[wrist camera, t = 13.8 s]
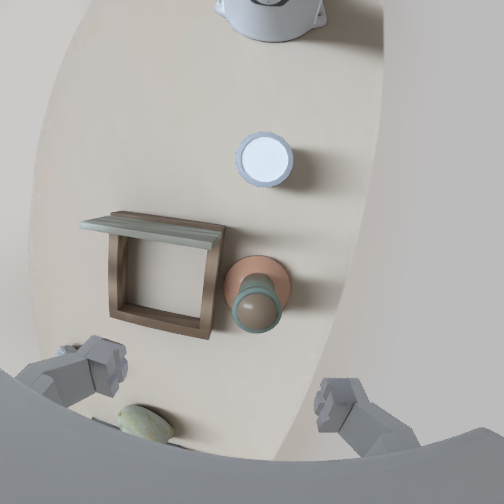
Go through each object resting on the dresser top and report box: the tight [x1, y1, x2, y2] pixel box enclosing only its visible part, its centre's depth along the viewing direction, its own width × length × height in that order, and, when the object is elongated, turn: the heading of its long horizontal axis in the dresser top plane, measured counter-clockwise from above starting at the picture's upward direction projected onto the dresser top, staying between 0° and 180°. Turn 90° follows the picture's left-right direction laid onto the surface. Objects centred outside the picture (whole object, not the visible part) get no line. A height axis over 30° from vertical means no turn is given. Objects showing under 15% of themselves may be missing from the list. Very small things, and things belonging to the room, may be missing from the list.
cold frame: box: [80, 211, 225, 340], centre depth 36 cm, size 17×17×12 cm
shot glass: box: [236, 132, 293, 188], centre depth 34 cm, size 7×7×7 cm
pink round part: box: [223, 255, 291, 309], centre depth 41 cm, size 10×10×1 cm
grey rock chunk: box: [55, 345, 77, 357], centre depth 42 cm, size 6×7×7 cm
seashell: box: [117, 405, 174, 444], centre depth 45 cm, size 13×8×10 cm
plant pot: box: [232, 273, 282, 333], centre depth 36 cm, size 6×6×8 cm
